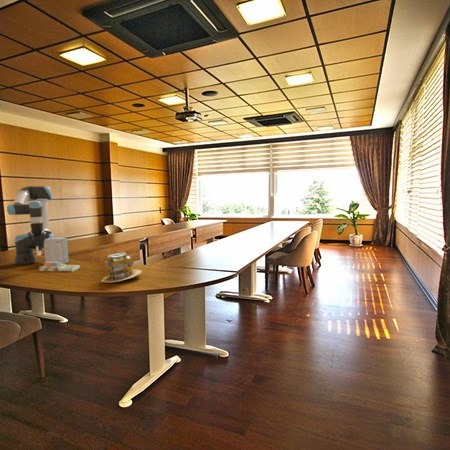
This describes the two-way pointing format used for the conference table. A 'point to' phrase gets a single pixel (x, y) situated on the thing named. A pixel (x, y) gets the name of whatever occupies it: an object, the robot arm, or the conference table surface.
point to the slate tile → (55, 263)
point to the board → (50, 268)
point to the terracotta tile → (48, 263)
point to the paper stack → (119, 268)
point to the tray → (69, 268)
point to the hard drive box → (56, 250)
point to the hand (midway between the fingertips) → (38, 255)
